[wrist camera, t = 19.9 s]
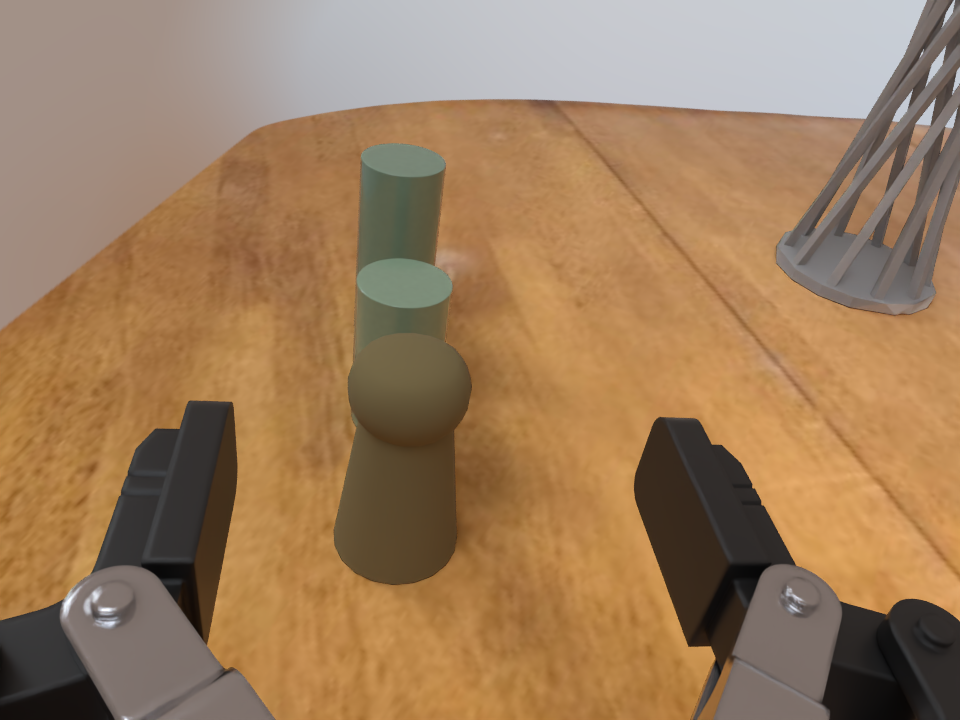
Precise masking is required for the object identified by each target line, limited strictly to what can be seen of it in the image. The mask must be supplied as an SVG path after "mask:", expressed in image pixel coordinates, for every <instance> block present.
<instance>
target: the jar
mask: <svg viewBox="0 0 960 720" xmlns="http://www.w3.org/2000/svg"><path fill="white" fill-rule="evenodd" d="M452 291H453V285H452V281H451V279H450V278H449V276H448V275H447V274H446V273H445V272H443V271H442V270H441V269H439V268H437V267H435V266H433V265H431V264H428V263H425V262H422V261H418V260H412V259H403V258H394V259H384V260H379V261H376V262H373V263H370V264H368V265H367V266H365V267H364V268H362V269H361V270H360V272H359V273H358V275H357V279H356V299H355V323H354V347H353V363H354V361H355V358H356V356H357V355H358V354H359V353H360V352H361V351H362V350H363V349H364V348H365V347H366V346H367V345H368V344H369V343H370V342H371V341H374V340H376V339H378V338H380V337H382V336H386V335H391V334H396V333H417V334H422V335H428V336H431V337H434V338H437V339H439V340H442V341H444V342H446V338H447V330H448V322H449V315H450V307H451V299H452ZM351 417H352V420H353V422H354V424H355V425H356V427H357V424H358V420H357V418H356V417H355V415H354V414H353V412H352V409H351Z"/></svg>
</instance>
